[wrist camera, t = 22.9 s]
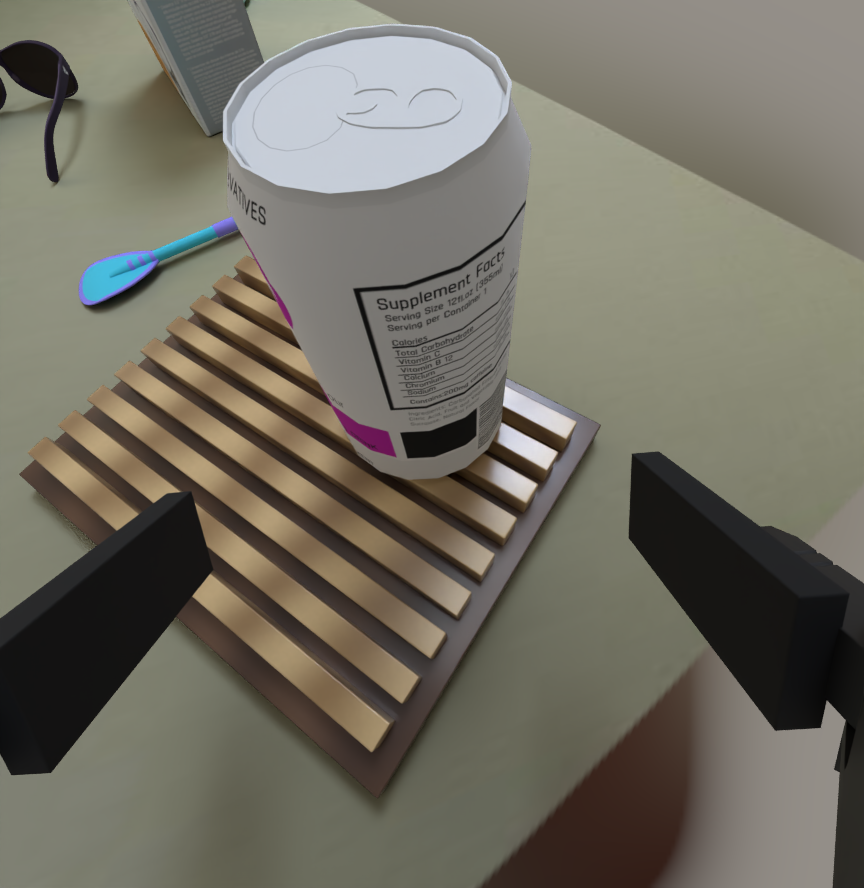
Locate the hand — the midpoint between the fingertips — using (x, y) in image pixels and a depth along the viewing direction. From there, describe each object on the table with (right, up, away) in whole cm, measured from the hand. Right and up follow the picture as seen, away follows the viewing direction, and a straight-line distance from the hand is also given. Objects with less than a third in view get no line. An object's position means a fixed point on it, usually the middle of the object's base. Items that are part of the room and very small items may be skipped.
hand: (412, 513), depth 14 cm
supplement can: (0, +4, +11) cm, 11 cm away
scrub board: (-7, +1, +13) cm, 15 cm away
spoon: (-15, +19, +23) cm, 33 cm away
